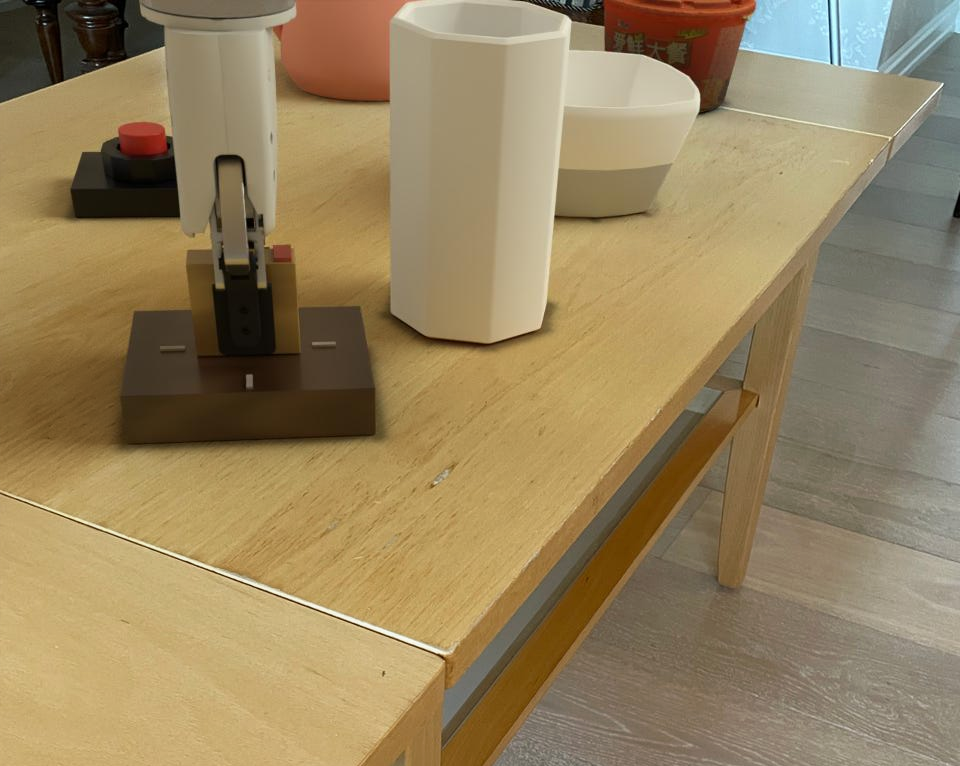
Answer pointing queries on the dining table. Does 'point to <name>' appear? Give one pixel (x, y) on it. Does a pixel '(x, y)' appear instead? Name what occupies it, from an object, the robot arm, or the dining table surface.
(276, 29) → the teapot
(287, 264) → the lock knob
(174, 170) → the button block
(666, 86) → the bowl
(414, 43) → the cup
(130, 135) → the button
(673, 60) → the food container
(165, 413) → the plate
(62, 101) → the dining table surface
